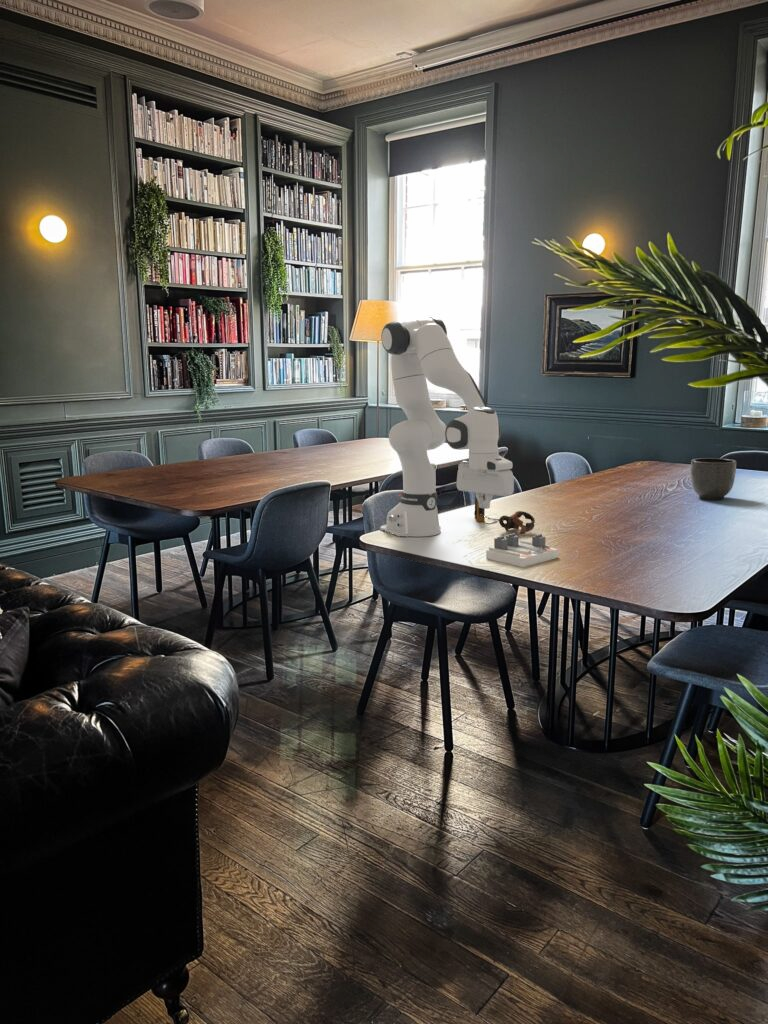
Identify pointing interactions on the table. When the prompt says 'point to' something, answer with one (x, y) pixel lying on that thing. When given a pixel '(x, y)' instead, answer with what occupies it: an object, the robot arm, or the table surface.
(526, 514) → the brown curved ring piece
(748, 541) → the table surface
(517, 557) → the switch board
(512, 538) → the tab middle
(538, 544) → the tab
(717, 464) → the planter
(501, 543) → the tab
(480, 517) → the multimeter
